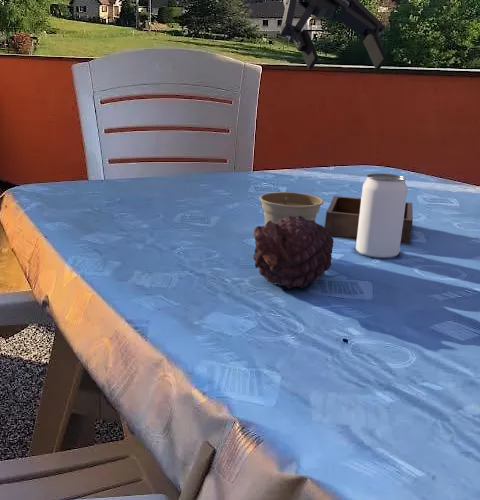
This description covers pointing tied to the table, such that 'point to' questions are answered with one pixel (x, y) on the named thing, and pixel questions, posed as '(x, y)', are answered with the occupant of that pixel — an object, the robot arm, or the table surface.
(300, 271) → the pine cone
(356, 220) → the wooden box
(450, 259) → the table surface
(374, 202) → the can
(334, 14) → the robot arm
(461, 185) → the table surface
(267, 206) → the flower pot
